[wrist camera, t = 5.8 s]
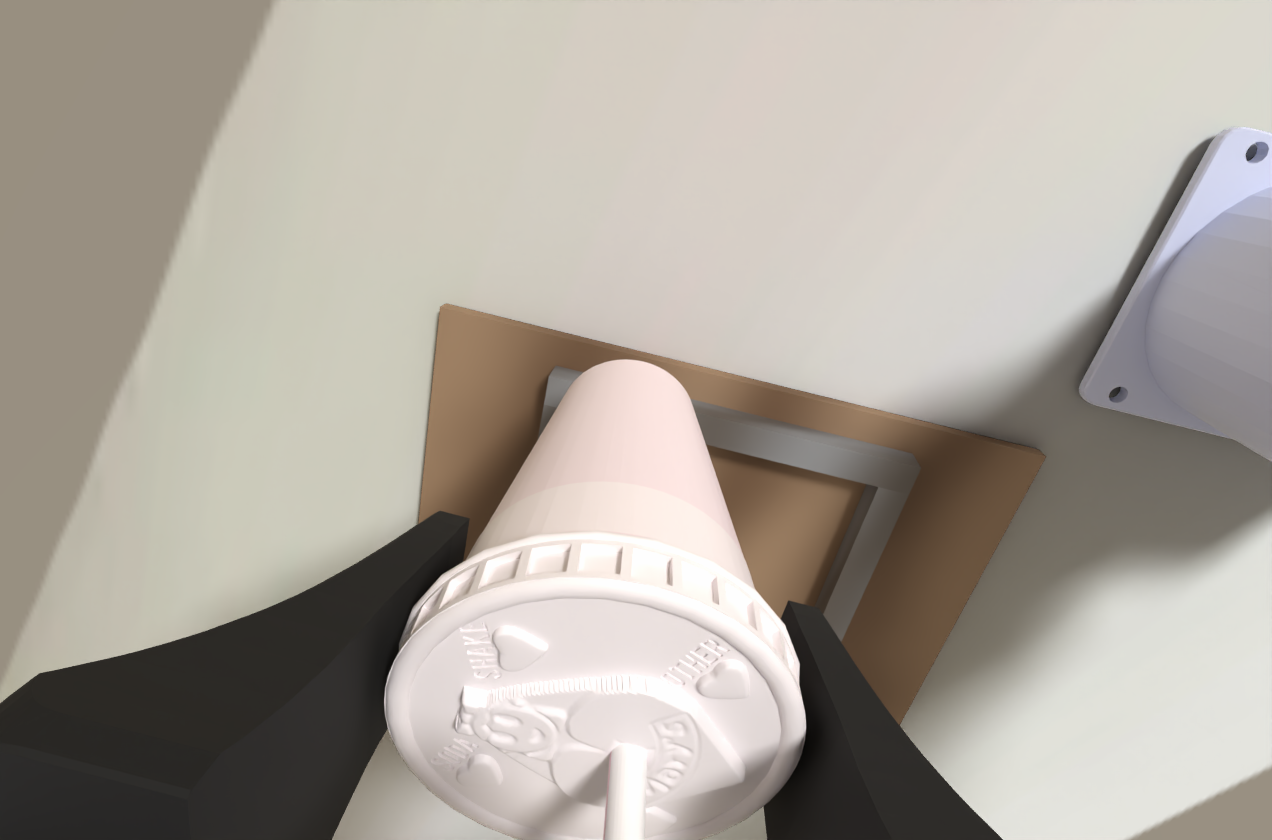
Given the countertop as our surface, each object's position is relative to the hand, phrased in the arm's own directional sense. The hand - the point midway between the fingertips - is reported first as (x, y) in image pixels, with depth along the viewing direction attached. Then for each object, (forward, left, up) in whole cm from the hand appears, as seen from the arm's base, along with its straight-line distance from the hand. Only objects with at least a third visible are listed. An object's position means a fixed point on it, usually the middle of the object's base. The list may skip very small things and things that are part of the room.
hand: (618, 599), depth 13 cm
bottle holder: (-2, +5, -10) cm, 12 cm away
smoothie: (+1, -1, -6) cm, 7 cm away
